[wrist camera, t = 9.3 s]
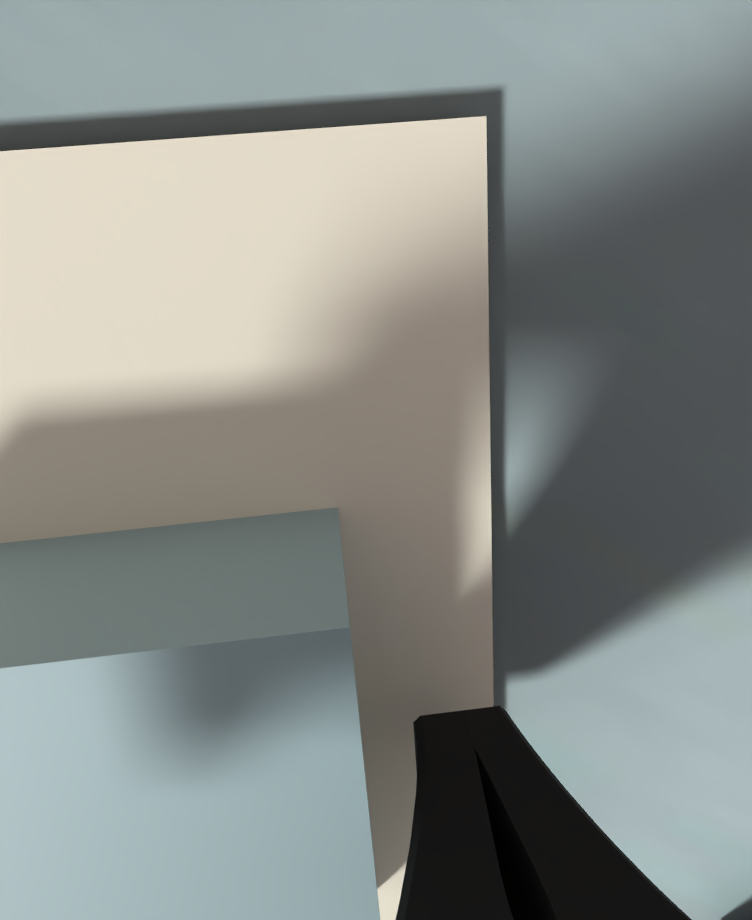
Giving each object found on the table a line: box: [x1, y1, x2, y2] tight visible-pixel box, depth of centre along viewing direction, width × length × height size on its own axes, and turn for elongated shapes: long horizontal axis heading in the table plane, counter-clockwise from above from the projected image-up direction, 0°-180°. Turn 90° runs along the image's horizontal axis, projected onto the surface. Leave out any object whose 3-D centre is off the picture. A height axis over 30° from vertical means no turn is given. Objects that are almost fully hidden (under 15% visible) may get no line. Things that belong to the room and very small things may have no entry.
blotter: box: [0, 116, 494, 920], centre depth 11 cm, size 10×18×1 cm, turn 4°
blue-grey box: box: [0, 507, 380, 920], centre depth 10 cm, size 3×8×6 cm
